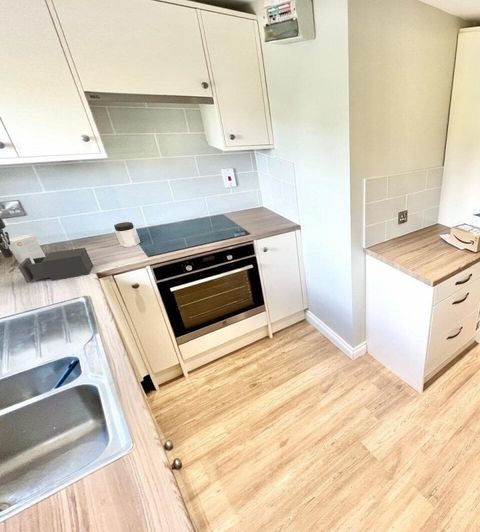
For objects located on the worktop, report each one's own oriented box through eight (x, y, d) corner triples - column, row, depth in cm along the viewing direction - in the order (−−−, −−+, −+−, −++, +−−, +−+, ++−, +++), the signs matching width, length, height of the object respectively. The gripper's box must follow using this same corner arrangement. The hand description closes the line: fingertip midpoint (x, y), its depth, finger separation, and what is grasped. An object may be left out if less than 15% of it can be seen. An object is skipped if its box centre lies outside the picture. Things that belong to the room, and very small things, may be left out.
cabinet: (51, 281, 145) (41, 261, 141) (58, 271, 153) (48, 252, 149) (89, 274, 151) (80, 255, 147) (93, 265, 159) (85, 247, 155)
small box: (39, 257, 165) (26, 233, 159) (47, 259, 164) (34, 235, 158) (18, 263, 159) (4, 239, 153) (27, 265, 157) (13, 241, 151)
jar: (134, 247, 180) (127, 226, 174) (118, 247, 178) (110, 227, 173) (143, 240, 188) (135, 221, 182) (127, 241, 186) (119, 221, 181)
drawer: (9, 285, 139) (0, 269, 135) (18, 276, 146) (8, 260, 142) (62, 276, 147) (54, 261, 143) (67, 268, 154) (60, 253, 151)
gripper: (-20, 215, 134) (3, 253, 142) (-36, 225, 124) (-10, 264, 132) (6, 212, 137) (26, 249, 145) (-8, 221, 127) (16, 260, 135)
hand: (9, 256), depth 139 cm, fingers closed
